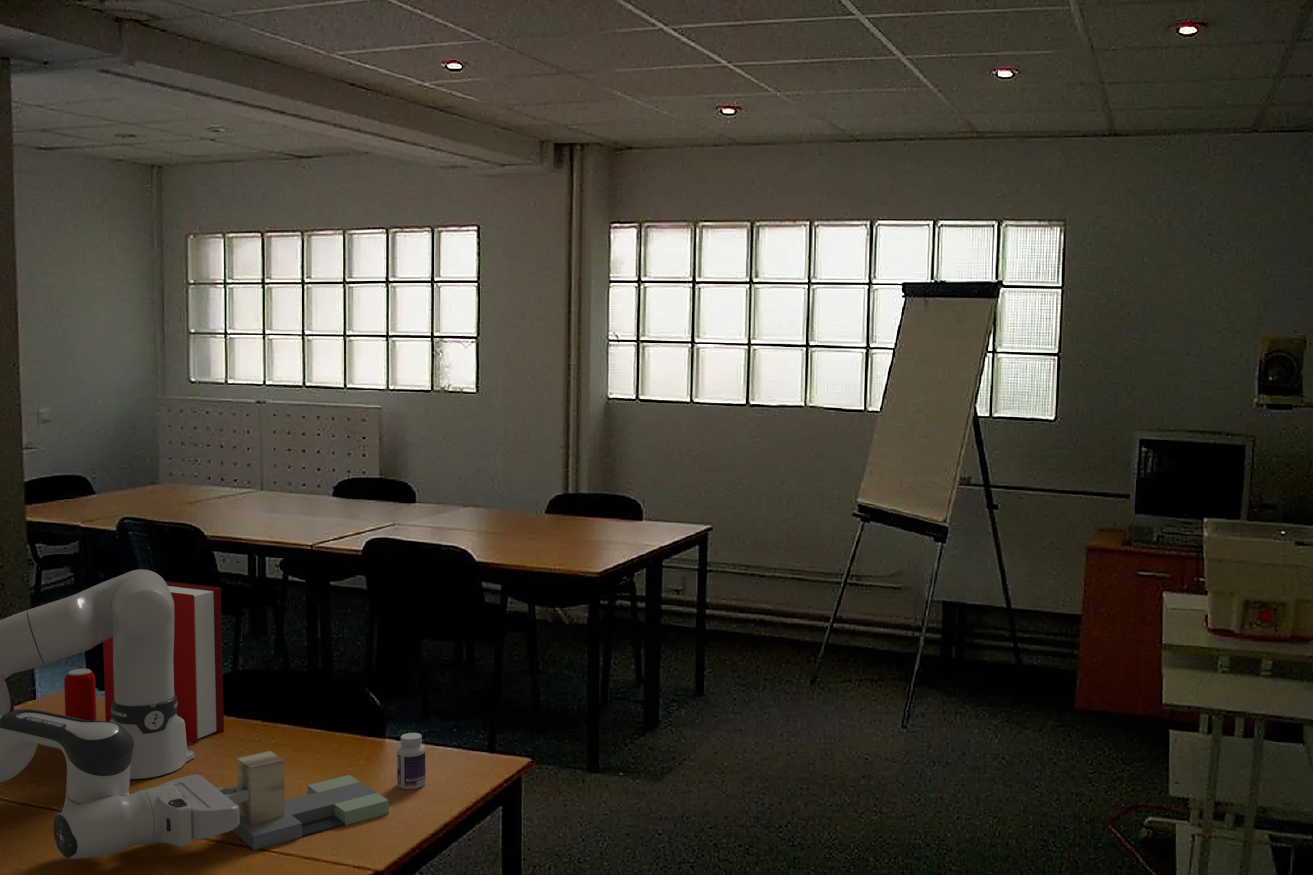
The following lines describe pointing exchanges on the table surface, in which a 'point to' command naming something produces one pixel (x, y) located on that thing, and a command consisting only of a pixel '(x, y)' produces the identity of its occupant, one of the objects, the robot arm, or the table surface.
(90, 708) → the beverage can
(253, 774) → the birch block
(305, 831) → the board
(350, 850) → the table surface
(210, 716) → the book
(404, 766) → the pill bottle
